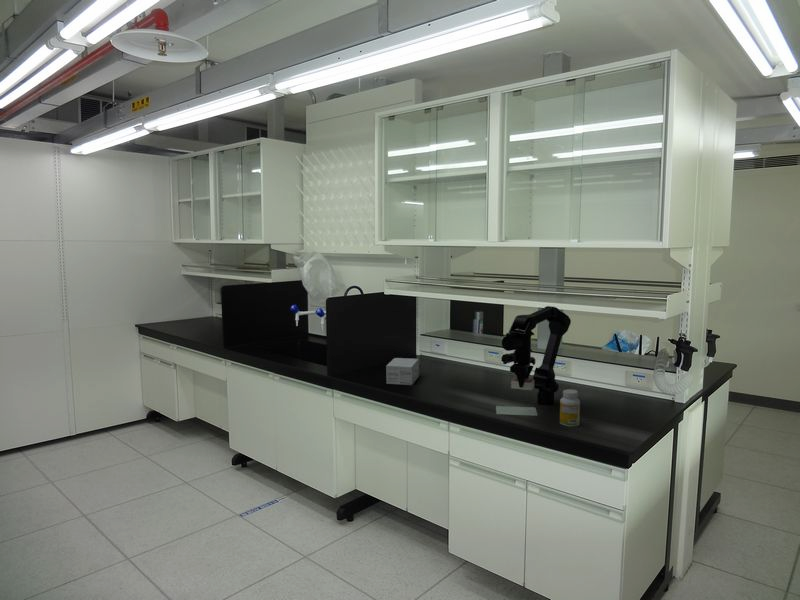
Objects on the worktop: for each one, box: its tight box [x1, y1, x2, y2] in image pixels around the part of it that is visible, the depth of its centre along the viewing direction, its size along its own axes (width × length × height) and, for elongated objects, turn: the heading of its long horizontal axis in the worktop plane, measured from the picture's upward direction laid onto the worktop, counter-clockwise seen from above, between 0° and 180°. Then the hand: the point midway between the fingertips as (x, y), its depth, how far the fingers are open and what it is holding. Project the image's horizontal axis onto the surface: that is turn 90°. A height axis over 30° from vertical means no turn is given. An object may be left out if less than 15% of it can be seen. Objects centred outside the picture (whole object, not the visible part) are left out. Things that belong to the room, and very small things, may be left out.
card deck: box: [510, 376, 535, 391], centre depth 213 cm, size 8×6×3 cm
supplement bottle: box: [559, 388, 581, 427], centre depth 199 cm, size 7×7×13 cm
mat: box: [495, 405, 538, 417], centre depth 215 cm, size 16×10×1 cm, turn 81°
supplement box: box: [385, 357, 420, 386], centre depth 265 cm, size 17×13×9 cm
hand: (522, 385), depth 213 cm, fingers closed on card deck, 5 cm apart
